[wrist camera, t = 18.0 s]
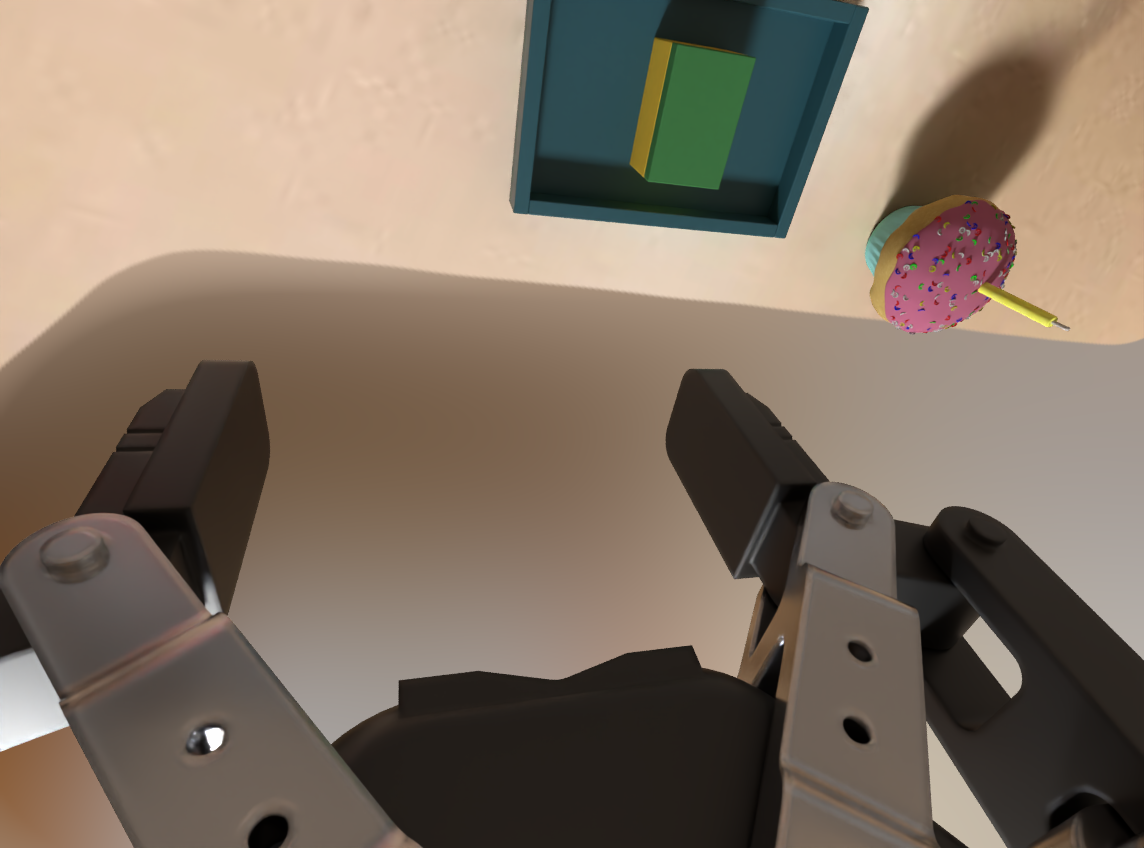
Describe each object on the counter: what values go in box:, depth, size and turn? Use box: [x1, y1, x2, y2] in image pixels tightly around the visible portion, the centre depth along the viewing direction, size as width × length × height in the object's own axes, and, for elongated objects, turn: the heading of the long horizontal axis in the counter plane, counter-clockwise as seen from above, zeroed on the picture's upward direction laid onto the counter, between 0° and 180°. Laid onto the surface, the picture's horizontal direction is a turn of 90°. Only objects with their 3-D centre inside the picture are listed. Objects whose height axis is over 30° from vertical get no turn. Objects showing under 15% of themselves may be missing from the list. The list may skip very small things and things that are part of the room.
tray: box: [509, 0, 869, 238], centre depth 31 cm, size 17×12×2 cm
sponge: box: [630, 37, 756, 190], centre depth 30 cm, size 6×4×4 cm, turn 171°
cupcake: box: [865, 195, 1070, 335], centre depth 35 cm, size 9×8×12 cm
